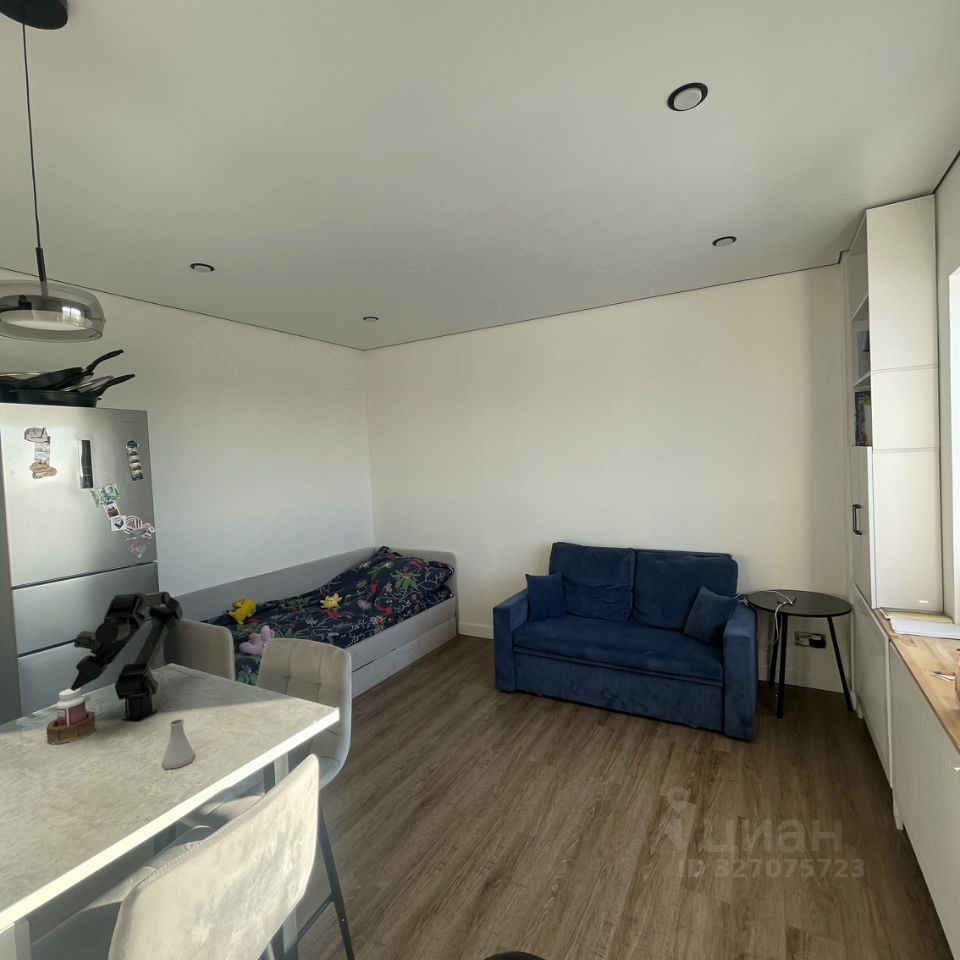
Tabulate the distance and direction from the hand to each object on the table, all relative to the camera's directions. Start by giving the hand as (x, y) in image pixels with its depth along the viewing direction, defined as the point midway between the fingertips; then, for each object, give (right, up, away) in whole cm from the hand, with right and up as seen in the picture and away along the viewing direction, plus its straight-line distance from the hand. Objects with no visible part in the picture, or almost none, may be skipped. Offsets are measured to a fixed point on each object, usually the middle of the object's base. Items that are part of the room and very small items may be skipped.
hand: (78, 683), depth 143 cm
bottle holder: (-1, -14, -1) cm, 14 cm away
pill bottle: (-1, -13, -1) cm, 13 cm away
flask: (+37, -13, -16) cm, 43 cm away
